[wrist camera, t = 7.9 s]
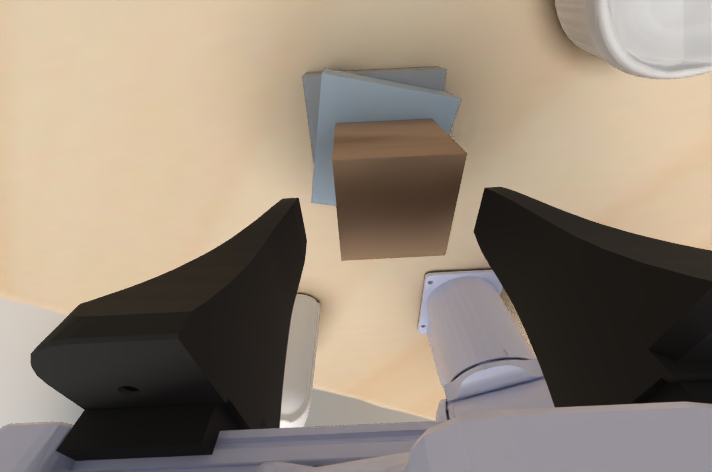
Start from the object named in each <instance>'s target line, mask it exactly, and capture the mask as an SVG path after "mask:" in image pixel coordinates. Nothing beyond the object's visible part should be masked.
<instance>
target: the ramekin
mask: <svg viewBox="0 0 712 472" xmlns="http://www.w3.org/2000/svg"><path fill="white" fill-rule="evenodd" d="M555 7H556V10H557V16H558V19H559V21H560V23H561V27H562V29H563V30H564V31H565V33H566V35H567V37H568V38H569V39H570V40H572V41H573V43H574V44H575V45H576V46H578V47H580V48H581V49H583V50H584V51H586V52H588V53H590V54H592V55H595V56H597V57H600V58H602V59H605V60H606V61H607V62H608V63H610V64H611V65H612V66H614V67H615V68H617V69H619V70H621V71H623V72H625V73H628V74H631V75H634V76H639V77H644V78H650V79H680V78H687V77H692V76H697V75H701V74H704V73H707V72H711V71H712V0H555Z"/></svg>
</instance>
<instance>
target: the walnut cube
mask: <svg viewBox="0 0 712 472" xmlns="http://www.w3.org/2000/svg"><path fill="white" fill-rule="evenodd" d="M466 155H467V153H466V152H465V151H464V150H463V149H462V148H461V147H460V146H459V145H458V144H457V143H456V142H455V141H454V140H453V139H452V138H451V137H450V136H449V135H448V134H447V133H446V132H445V131H444V130H443V129H442V128H441V127H440V126H439V125H438V124H437V123H436V122H435V121H434V120H433V119H414V120H393V121H373V122H353V123H335V134H334V145H333V156H332V164H333V175H334V186H335V196H336V207H337V218H338V228H339V239H340V249H341V260H342V261H344V260H363V259H382V258H401V257H420V256H439V255H445V254H446V249H447V245H448V240H449V235H450V231H451V226H452V221H453V216H454V212H455V207H456V202H457V198H458V193H459V188H460V183H461V179H462V174H463V169H464V165H465V160H466Z"/></svg>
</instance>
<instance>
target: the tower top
mask: <svg viewBox="0 0 712 472" xmlns="http://www.w3.org/2000/svg"><path fill="white" fill-rule="evenodd" d="M460 102H461V99H459V98H457V97H455V96H454V95H452V94H450V93H448V92H446V91H440V90H435V89H430V88H425V87H420V86H414V85H409V84H404V83H399V82H394V81H388V80H383V79H378V78H373V77H368V76H363V75H357V74H352V73H347V72H342V71H337V70H331V69H326V68H325V69H324V71H323V72H322V78H321V90H320V102H319V114H318V126H317V138H316V150H315V162H314V175H313V187H312V199H311V203H318V204H326V205H333V206H336V196H335V186H334V175H333V164H332V156H333V145H334V134H335V123H353V122H373V121H393V120H414V119H433V120H434V121H435V122H436V123H437V124H438V125H439V126H440V127H441V128H442V129H443V130H444V131H445V132H446V133H447V134H448V135H449V133H450V130H451V127H452V124H453V122H454V119H455V116H456V113H457V111H458V108H459V105H460Z"/></svg>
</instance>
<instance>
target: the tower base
mask: <svg viewBox="0 0 712 472" xmlns="http://www.w3.org/2000/svg"><path fill="white" fill-rule="evenodd" d="M446 71H447V69H443V68H440V67H418V68H397V69H375V70H354V71H342V72H347V73H352V74H357V75H363V76H368V77H373V78H378V79H383V80H388V81H394V82H399V83H404V84H409V85H414V86H420V87H425V88H430V89H435V90H440V91H444V86H445V78H446ZM321 78H322V72H311V73H305V74H304V75H303V76H302V79H303V86H304V94H305V101H306V109H307V116H308V124H309V131H310V139H311V146H312V154H313V161H314V162H315V150H316V138H317V126H318V114H319V102H320V90H321Z"/></svg>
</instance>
